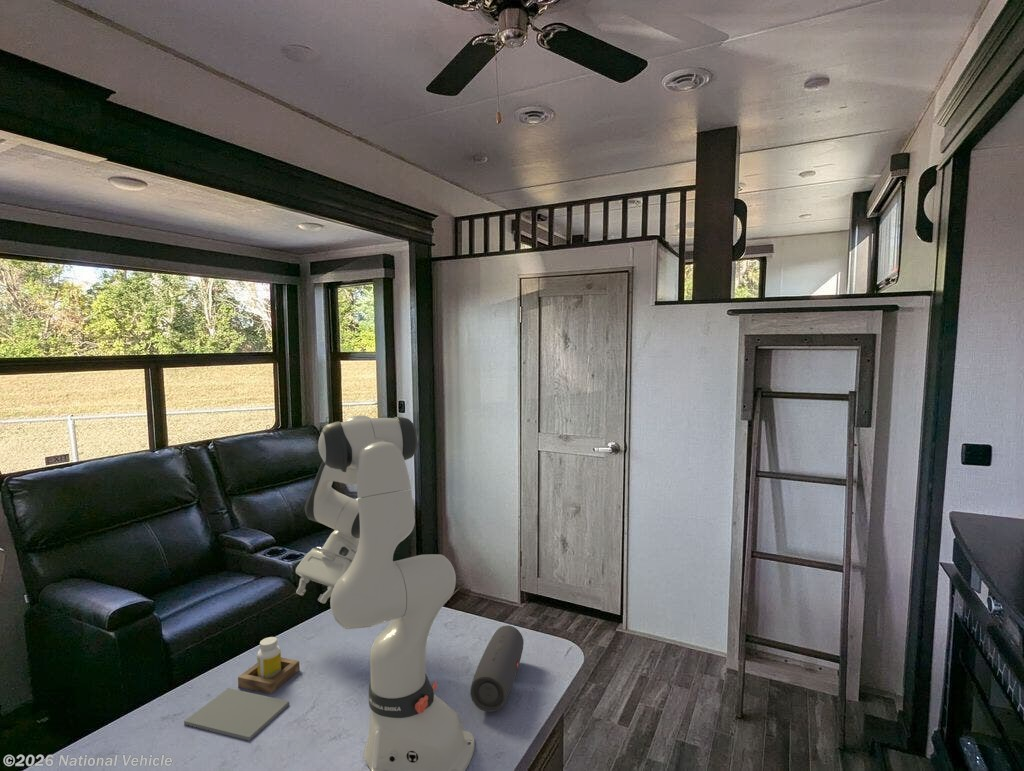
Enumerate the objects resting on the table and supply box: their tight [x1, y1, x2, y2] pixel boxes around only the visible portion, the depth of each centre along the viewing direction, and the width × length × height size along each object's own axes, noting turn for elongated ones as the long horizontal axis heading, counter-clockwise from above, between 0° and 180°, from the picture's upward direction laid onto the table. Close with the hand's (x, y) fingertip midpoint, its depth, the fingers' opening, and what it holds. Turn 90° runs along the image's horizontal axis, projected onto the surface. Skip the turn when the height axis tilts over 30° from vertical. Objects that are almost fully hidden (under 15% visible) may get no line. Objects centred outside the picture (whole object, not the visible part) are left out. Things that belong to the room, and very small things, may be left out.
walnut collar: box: [237, 656, 300, 695], centre depth 130 cm, size 10×10×2 cm
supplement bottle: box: [256, 636, 282, 679], centre depth 130 cm, size 5×5×10 cm
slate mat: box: [183, 687, 290, 742], centre depth 117 cm, size 18×12×1 cm, turn 73°
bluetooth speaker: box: [470, 624, 524, 713], centre depth 126 cm, size 23×9×10 cm, turn 168°
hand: (309, 598), depth 140 cm, fingers open, 8 cm apart
